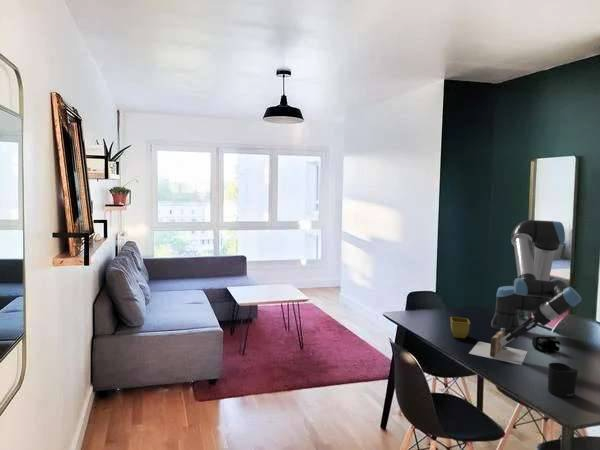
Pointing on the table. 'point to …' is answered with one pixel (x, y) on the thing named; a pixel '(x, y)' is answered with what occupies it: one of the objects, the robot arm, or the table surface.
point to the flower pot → (459, 327)
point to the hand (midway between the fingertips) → (501, 343)
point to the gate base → (499, 353)
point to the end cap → (546, 344)
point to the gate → (497, 342)
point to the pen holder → (562, 380)
